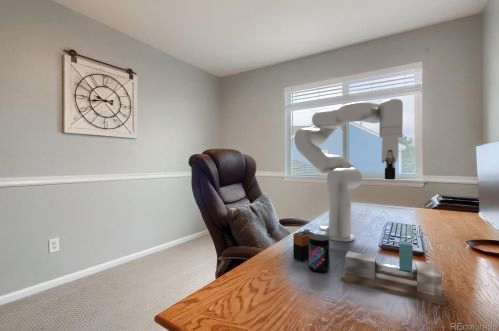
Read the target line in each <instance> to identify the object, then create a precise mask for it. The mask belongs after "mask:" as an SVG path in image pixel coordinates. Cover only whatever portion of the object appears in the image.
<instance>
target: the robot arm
mask: <svg viewBox="0 0 499 331" xmlns="http://www.w3.org/2000/svg"><path fill="white" fill-rule="evenodd" d="M403 105H404V104H403V101H402V99H398V98H390V99H389V98H388V99H385V100H383V101H381V102H380V103H373V102H370V101H356V102H350V103H346V104H345V103H344V104H343V105H341V106H340V107H336V108H329V109H323V110H319V111H317V112H315V113H314V114H313V115H312V116H311V122H312V124H313V126H315V127H316V128H311V127H302V128H299V129H298V130H296V132H295V133H294V145H295V147H296V149H297V151H298V152H299V153H300V154H301V155H302V156H303V157H304V158H305V159H306V160H307V161H308V162H309V163H310V164H311V166H313V167H314V168H315V169H316V170H317V171H318V172H319V173H320V174H323V175H327V176H326V184H327V190H328V191H327V192H328V226H327V225H326V226H324V225H320V226H319V228H318V229H319V231H320V232H325V233H324V235H326V236H328V237H330V241H336V242H342V243H344V242H348V243H349V242H352V241H354V240H355V235H354V234H352V197H351V194H350V191H349V189H356V188H357V187H359V186H361V185H362V183H363V175H362V172H361V171H360V170H359V169H358V168H357V167H356V166H355V165H353V164H352V163H351V162H349V160H348V159H346V158H345V157H343V156H341V155H338V154H328V153H326V152H325V151H324V150H323V149H322V148H320V147H319V145H322V144H324V143H325V142H327V140H328V139H329V138H330V137H331V135H333V133H334V132H335V131H336V130H337V128H340V127H343V126H346V125H347V123H349V122H350V123H353V122H363V123H364V122H365V123H371V124H378V126H379V129H378V130H379V133H378V135H379V138H381V140H382V141H381V163H382V164H384V163H385V168H384V179H385V180H395V179H396V167H395V166H396V163H397V162H398V156H399V138H402V137H403V124H404V123H403V114H404V113H403V112H404V110H403V109H404V108H403V107H404V106H403Z"/></svg>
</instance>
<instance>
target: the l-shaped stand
mask: <svg viewBox="0 0 499 331" xmlns="http://www.w3.org/2000/svg"><path fill="white" fill-rule="evenodd" d="M398 245H399V253H398V255H399V256H398V257H399V259H398V260H399V261H398V266H397V265H392V264H387V263H382V262H377V261H376V262H375V273H378V274H383V275H387V276H392V277H397V278H401V279H406V280H411V281H416V282H417V270H416V269H414V268H413V259H414V258H413V254H414V252H413V249H414V248H413V246H414V245H413V242H411V241H405V240H399V243H398Z"/></svg>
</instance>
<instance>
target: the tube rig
mask: <svg viewBox="0 0 499 331" xmlns="http://www.w3.org/2000/svg"><path fill="white" fill-rule="evenodd" d="M375 262H377V256H375V255H371V254H366V253H359V252H354V251H349V250H348V251H347V252H346V254H345V256H344V269H343V272H342V274H341V276H340V281H342V282H346V283H349V284H354V285H359V286H363V287H366V288H370V289H375V290H379V291H383V292H387V293H392V294H396V295H400V296H404V297H408V298H412V299H416V300H421V301H425V302H429V303H431V304H432V303H433V304H437V305H441V306H446V303H447V302H446V298H445V295H444V293H443V276H442V274H441V271H440V268H439V266H438V265H437V264H432V263H426V262H425V263H424V262H419V261H415V270H417V282H416V281H411V280H406V279H401V278H397V277H392V276H387V275H383V274H378V273H375Z"/></svg>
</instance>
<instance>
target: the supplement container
mask: <svg viewBox="0 0 499 331" xmlns="http://www.w3.org/2000/svg"><path fill="white" fill-rule="evenodd" d="M330 259H331V240H330V237H328V236H326V235H325V234H322V233H314V234H312V235H309V236H308V260H307V265H308V266H307V267H308V269H309V271H311V272H312V273H315V274H326V273H328V272H329V271H330V267H331V266H330V264H331V261H330Z"/></svg>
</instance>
